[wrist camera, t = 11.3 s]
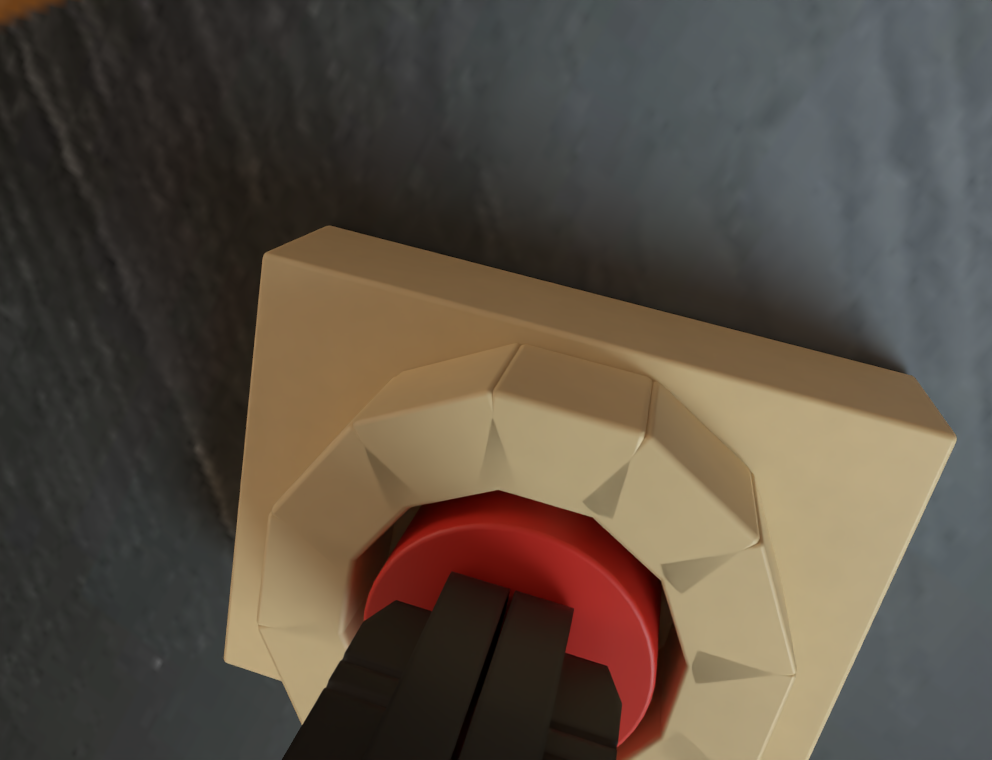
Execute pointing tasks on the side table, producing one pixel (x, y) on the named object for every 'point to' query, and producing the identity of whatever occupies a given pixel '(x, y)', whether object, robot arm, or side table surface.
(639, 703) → the button
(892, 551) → the button box
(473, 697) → the robot arm
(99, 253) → the side table surface
